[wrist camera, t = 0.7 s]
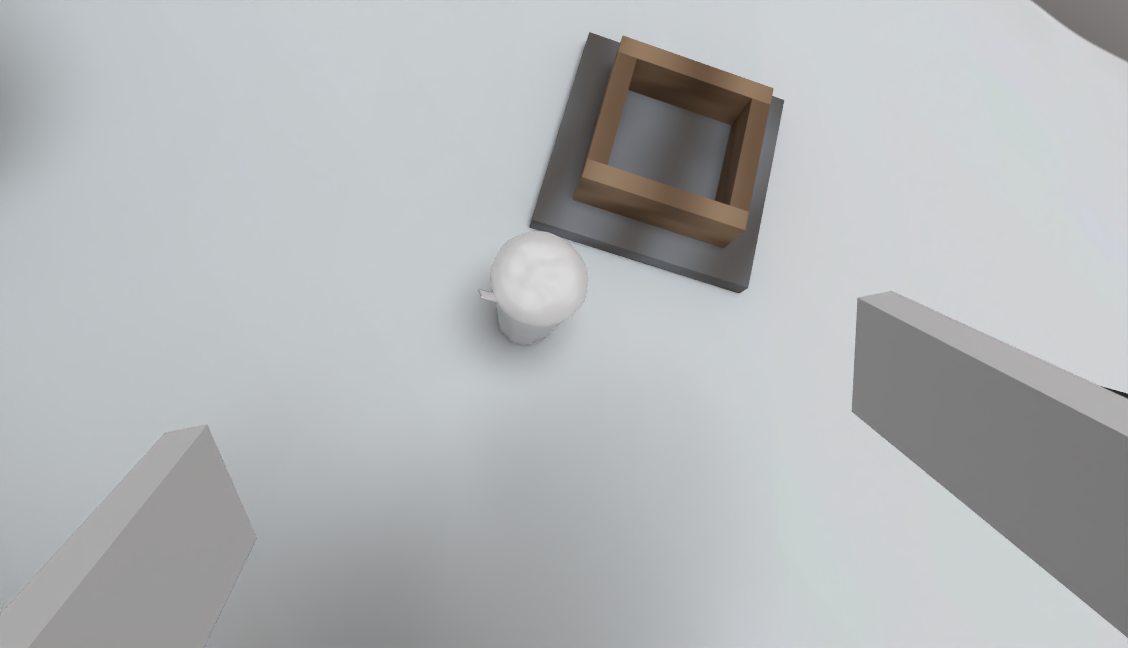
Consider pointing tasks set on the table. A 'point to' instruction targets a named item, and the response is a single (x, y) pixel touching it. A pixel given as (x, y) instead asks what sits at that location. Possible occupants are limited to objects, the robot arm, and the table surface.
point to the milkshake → (536, 285)
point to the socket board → (662, 162)
